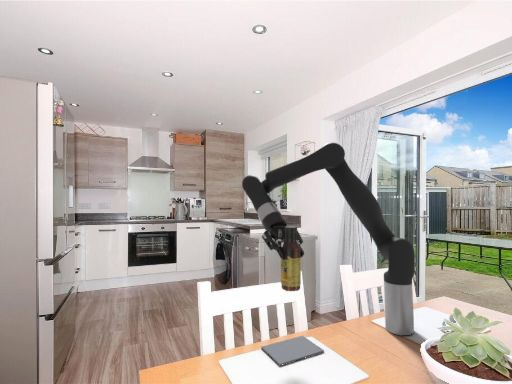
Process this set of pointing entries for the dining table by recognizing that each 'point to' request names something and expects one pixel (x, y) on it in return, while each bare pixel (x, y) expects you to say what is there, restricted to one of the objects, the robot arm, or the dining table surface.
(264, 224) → the robot arm
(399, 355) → the dining table surface
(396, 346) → the dining table surface
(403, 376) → the dining table surface
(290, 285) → the sauce bottle
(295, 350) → the gray mat
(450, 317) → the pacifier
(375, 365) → the dining table surface
